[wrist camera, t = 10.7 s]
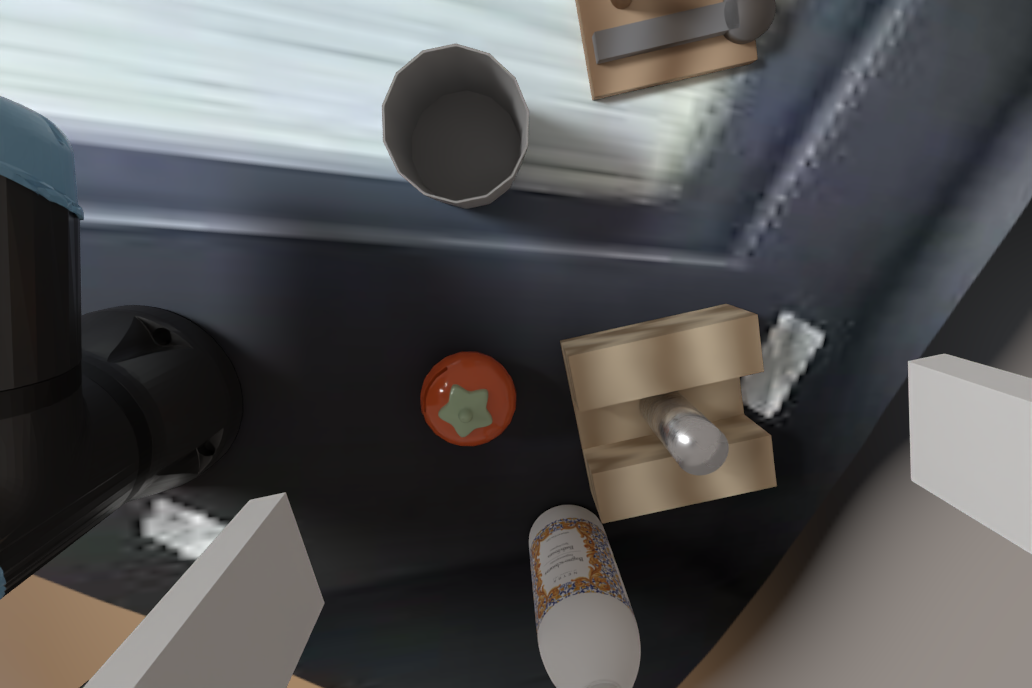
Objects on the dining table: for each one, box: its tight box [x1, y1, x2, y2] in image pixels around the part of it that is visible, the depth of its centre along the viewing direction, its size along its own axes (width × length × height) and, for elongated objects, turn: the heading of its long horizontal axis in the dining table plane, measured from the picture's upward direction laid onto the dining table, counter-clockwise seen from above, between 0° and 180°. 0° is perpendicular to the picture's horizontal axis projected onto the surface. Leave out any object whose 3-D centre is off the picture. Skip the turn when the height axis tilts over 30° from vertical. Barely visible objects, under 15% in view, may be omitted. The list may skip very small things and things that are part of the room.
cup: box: [382, 44, 529, 209], centre depth 34 cm, size 8×8×10 cm
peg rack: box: [575, 0, 776, 100], centre depth 34 cm, size 13×7×6 cm, turn 102°
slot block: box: [560, 304, 777, 524], centre depth 41 cm, size 14×14×5 cm
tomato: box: [420, 351, 517, 446], centre depth 39 cm, size 7×7×8 cm
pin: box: [639, 391, 729, 475], centre depth 38 cm, size 4×4×9 cm
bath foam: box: [529, 505, 641, 688], centre depth 36 cm, size 7×7×20 cm
